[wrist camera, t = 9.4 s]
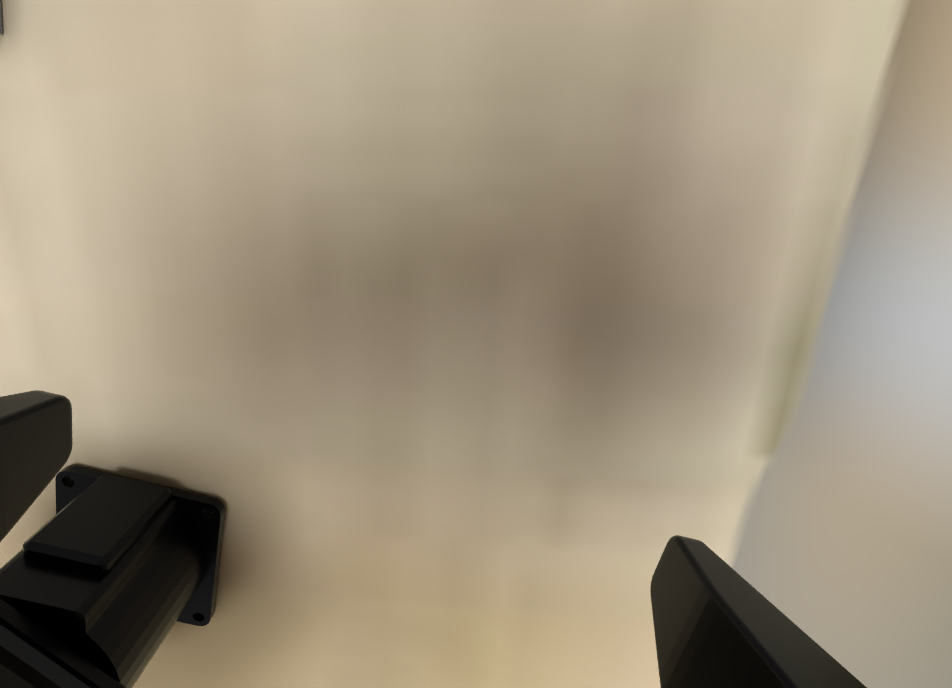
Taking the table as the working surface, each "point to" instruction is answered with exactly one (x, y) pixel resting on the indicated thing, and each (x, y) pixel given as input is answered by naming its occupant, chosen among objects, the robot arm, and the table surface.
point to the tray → (1, 19)
